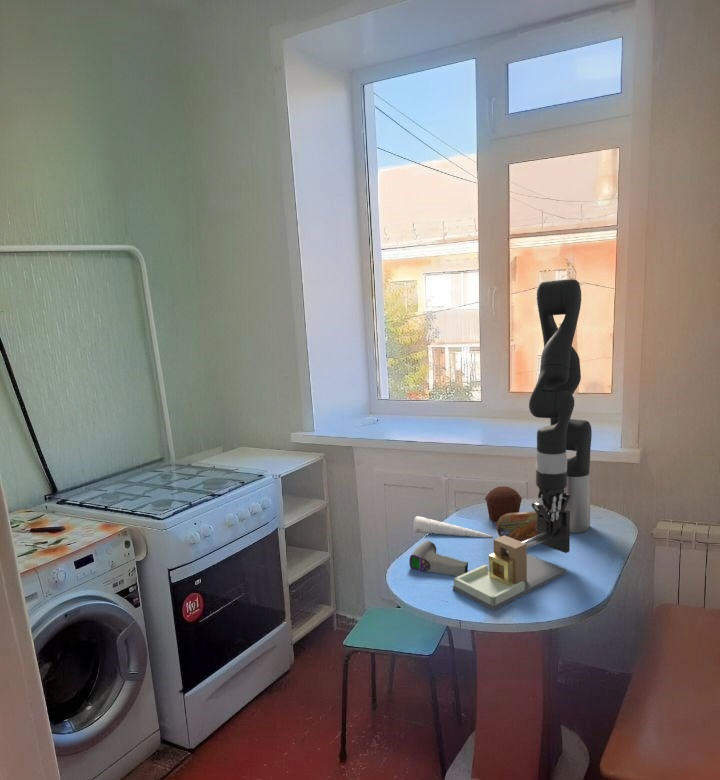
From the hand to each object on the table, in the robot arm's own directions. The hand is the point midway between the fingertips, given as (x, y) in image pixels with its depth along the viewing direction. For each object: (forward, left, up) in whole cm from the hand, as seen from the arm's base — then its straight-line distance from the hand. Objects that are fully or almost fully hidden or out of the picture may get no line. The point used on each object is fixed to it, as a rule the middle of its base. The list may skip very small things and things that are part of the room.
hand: (551, 533), depth 154 cm
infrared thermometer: (+19, -21, -10) cm, 30 cm away
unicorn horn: (+3, -34, -10) cm, 36 cm away
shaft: (+4, -3, -6) cm, 8 cm away
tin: (-9, -17, -10) cm, 21 cm away
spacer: (+16, -3, -8) cm, 18 cm away
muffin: (-18, -31, -10) cm, 37 cm away
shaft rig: (+13, -3, -10) cm, 16 cm away
